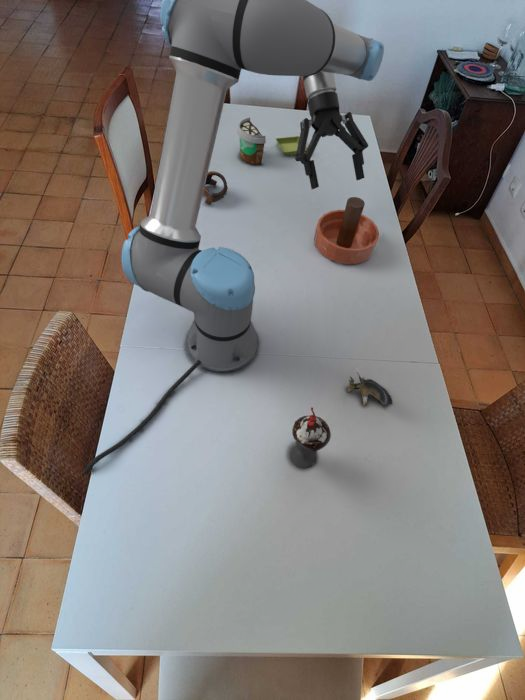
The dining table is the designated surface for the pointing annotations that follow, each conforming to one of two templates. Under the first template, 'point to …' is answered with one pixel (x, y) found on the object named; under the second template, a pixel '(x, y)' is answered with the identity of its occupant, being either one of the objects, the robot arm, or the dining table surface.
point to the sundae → (308, 439)
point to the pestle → (350, 222)
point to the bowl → (361, 244)
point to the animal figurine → (370, 390)
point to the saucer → (289, 145)
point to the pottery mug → (214, 196)
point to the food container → (250, 143)
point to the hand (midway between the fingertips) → (338, 183)
